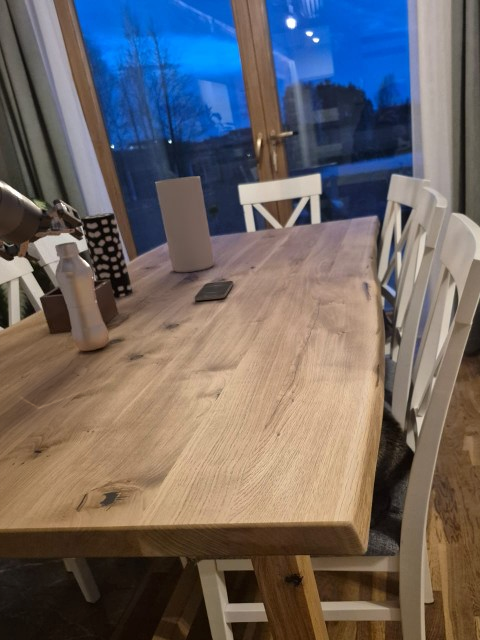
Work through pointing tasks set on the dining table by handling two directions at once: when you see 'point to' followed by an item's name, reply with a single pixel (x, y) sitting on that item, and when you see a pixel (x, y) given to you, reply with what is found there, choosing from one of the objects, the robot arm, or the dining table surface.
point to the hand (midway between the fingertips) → (58, 245)
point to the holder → (59, 312)
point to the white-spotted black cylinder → (107, 252)
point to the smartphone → (214, 290)
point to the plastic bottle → (80, 298)
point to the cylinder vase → (185, 223)
